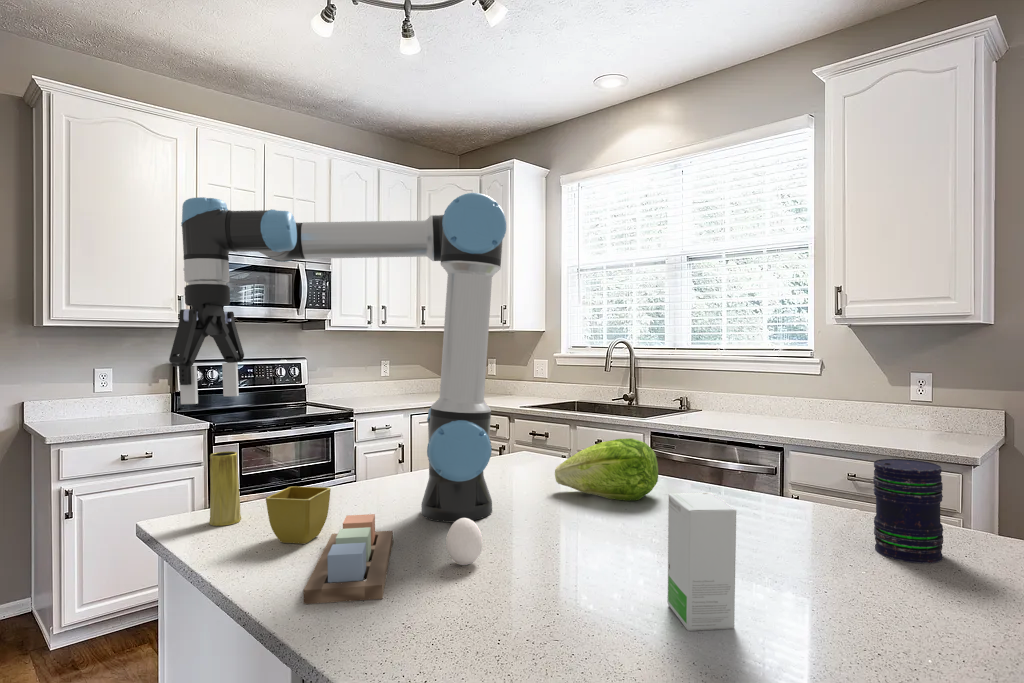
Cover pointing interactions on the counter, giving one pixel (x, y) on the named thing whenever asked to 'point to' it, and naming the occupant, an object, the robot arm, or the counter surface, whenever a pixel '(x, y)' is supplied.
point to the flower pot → (298, 513)
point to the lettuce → (611, 470)
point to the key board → (351, 591)
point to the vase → (224, 489)
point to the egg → (464, 541)
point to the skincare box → (701, 560)
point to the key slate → (346, 562)
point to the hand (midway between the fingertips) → (211, 400)
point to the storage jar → (908, 510)
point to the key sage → (356, 537)
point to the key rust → (361, 523)
